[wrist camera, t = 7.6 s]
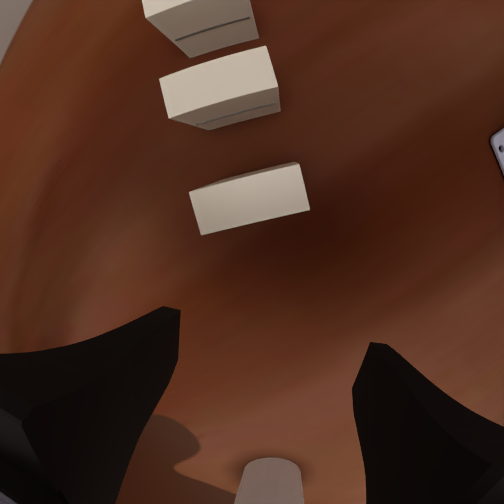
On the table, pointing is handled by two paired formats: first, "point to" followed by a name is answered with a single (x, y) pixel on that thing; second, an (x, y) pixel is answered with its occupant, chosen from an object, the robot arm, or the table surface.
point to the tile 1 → (202, 23)
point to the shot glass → (270, 483)
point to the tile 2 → (223, 90)
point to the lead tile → (250, 198)
